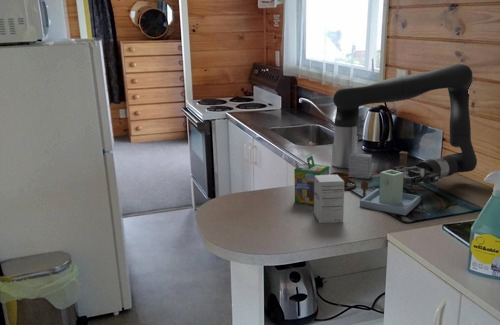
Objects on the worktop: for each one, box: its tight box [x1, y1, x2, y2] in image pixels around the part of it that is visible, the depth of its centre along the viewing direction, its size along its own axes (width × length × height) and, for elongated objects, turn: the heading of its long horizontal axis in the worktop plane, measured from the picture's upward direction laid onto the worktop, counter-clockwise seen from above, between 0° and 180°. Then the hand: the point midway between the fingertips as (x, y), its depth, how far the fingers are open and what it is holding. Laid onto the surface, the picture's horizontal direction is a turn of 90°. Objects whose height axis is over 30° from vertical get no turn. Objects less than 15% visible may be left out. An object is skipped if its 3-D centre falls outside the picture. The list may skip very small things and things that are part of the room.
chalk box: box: [293, 155, 330, 206], centre depth 155 cm, size 9×9×15 cm
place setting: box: [329, 171, 369, 198], centre depth 167 cm, size 18×20×6 cm
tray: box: [359, 188, 422, 216], centre depth 151 cm, size 15×15×2 cm
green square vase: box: [379, 169, 404, 206], centre depth 150 cm, size 5×6×10 cm
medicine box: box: [348, 153, 373, 180], centre depth 182 cm, size 8×4×9 cm, turn 65°
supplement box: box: [313, 174, 345, 224], centre depth 139 cm, size 7×7×13 cm
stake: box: [398, 151, 409, 189], centre depth 167 cm, size 2×2×13 cm
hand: (400, 178), depth 152 cm, fingers open, 8 cm apart
